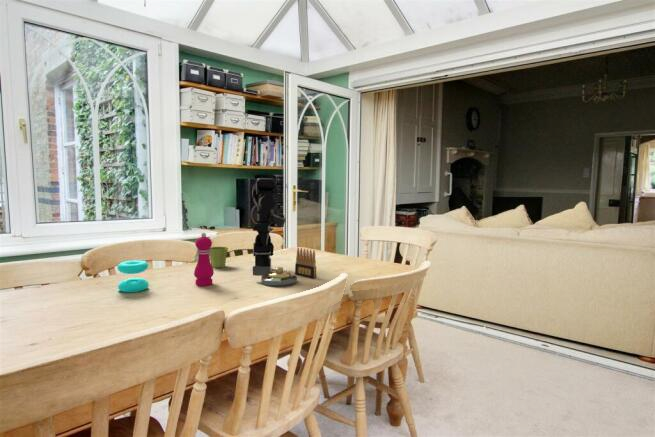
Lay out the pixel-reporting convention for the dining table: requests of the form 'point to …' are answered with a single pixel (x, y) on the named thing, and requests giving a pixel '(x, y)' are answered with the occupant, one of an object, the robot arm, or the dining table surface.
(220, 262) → the plant pot
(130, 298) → the dining table surface
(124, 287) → the donuts
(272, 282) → the base
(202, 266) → the pepper mill
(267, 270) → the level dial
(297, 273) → the ammunition clip
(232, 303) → the dining table surface
